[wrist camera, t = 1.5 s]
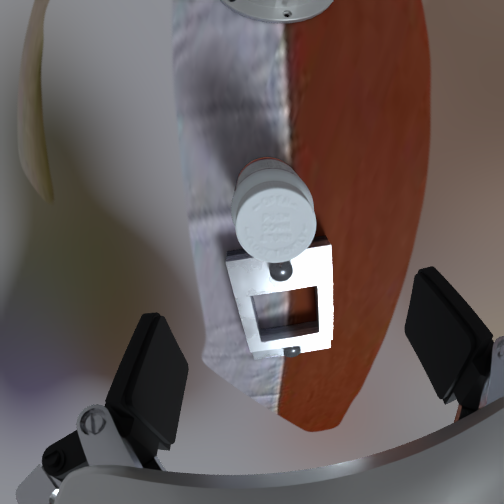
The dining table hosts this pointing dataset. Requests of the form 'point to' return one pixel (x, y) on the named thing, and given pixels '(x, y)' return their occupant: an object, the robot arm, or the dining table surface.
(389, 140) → the dining table surface
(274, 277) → the slotted white bracket
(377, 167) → the dining table surface
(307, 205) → the pill bottle
